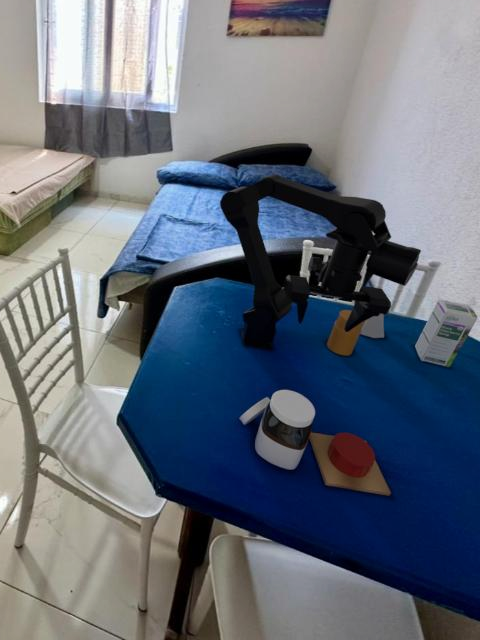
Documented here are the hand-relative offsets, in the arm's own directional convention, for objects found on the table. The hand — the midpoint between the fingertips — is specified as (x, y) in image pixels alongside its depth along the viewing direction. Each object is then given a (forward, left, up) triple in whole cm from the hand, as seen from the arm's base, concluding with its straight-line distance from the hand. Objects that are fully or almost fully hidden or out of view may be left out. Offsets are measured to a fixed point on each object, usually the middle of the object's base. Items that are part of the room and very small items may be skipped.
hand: (322, 326), depth 87 cm
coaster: (0, -24, -12) cm, 27 cm away
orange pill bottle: (+10, +9, -12) cm, 18 cm away
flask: (+20, +18, -12) cm, 30 cm away
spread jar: (-13, -22, -12) cm, 28 cm away
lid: (0, -24, -11) cm, 26 cm away
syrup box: (+31, +10, -12) cm, 35 cm away
